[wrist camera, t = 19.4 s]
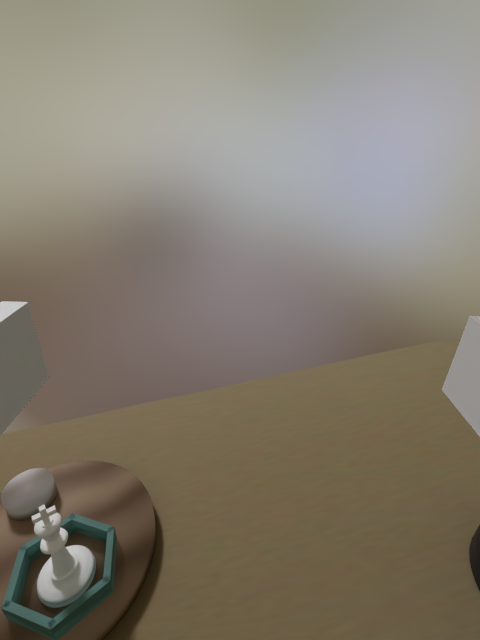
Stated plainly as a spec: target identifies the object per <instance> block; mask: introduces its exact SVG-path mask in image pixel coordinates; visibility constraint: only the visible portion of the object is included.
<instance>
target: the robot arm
mask: <svg viewBox="0 0 480 640" xmlns="http://www.w3.org/2000/svg"><path fill="white" fill-rule="evenodd" d="M48 379H49V374H48V371H47V367H46V364H45V360H44V357H43V353H42V349H41V346H40V342H39V339H38V335H37V332H36V328H35V325H34V321H33V318H32V314H31V311H30V308H29V303H28V302H6V301H5V302H4V301H3V302H1V303H0V435H1V434H2V433H3V432H4V431H5V429H6V428H7V427H8V426H9V425H10V423H11V422H12V421H13V420H14V419H15V418H16V416H17V415H18V414H19V413H20V412H21V410H22V409H23V408H24V407H25V406H26V405H27V403H28V402H29V401H30V400H31V399H32V397H33V396H34V395H35V394H36V393H37V392H38V390H39V389H40V388H41V387H42V385H43V384H44V383H45V382H46V381H47V380H48ZM442 391H443V392H444V393H445V394H446V395H447V397H448V398H449V399H450V400H451V402H452V403H453V404H454V405H455V407H456V408H457V409H458V410H459V412H460V413H461V414H462V415H463V417H464V418H465V419H466V420H467V422H468V423H469V424H470V425H471V427H472V428H473V429H474V430H475V432H476V433H477V434H478V435H479V436H480V316H470V317H469V319H468V322H467V325H466V328H465V330H464V333H463V335H462V338H461V340H460V343H459V346H458V348H457V351H456V354H455V356H454V359H453V362H452V364H451V367H450V370H449V372H448V375H447V378H446V380H445V383H444V385H443V388H442ZM469 552H470V564H471V568H472V572H473V575H474V578H475V581H476V584H477V586H478V588H479V590H480V525H479V527H478V529H477V530H476V532H475V534H474V536H473V538H472V540H471V544H470V551H469Z"/></svg>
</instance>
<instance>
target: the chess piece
mask: <svg viewBox="0 0 480 640" xmlns="http://www.w3.org/2000/svg"><path fill="white" fill-rule="evenodd" d="M38 508H39V513H37V514H35V515H33V516H31V517H32V522H33V524H35V526H34V532H35V534H36V535H37V536H38V537H40V538H42V540H41V544H40V549H41V551H42V552H43V553H44V554H51V557H50V558H49V559H48V561H47V562H46V563H45V564H44V566H43V568H42V569H41V571H40V574H39V576H38V580H37V592H38V597H39V599H40V601H41V602H42V603H43V604H44V605H46V606H48V607H52V608H58V607H63V606H66V605H68V604H70V603H72V602H74V601H75V600H77V599H78V598H79V597H80V596H81V595H82V594H83V593H84V592H85V591H86V590H87V589H88V587H89V586H90V584H91V582H92V580H93V578H94V575H95V571H96V561H95V557H94V555H93V554H92V552H91V551H90V550H89V549H88V548H87V547H85V546H82V545H72V546H68V547H65V546H64V545H65V544H66V542H67V540H68V533H67V531H66V530H65V529H63V528H60V526H61V521H62V519H61V515H60V514H59V513H57V511H56V507H55V505H54V506H52V507H50V508H48V509H46V507H45V504H44V505H42V506H40V507H38Z"/></svg>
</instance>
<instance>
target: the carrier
mask: <svg viewBox="0 0 480 640" xmlns="http://www.w3.org/2000/svg"><path fill="white" fill-rule="evenodd" d="M44 504H45V507H46V509H48V508H50V507H52V506H54V505H55V507H56V511H57V513H59V514H60V515H61V519H62V521H61V526H60V528H63V529H65V530H66V531H67V533H68V540H67V542H66V544H65V545H64V546H65V547H68V546H72V545H82V546H85V547H87V548H88V549H89V550H90V551H91V552H92V554H93V555H94V557H95V561H96V571H95V575H94V578H93V580H92V582H91V584H90V586H89V587H88V589H87V590H86V591H85V592H84V593H83V594H82V595H81V596H80V597H79V598H78V599H77V600H75V601H74V602H72V603H70V604H68V605H66V606H63V607H58V608H52V607H48V606H46V605H44V604H43V603H42V602H41V601H40V599H39V597H38V592H37V580H38V576H39V574H40V571H41V569H42V568H43V566H44V564H45V563H46V562H47V561H48V559H49V558H50V557H51V554H44V553H43V552H42V551H41V549H40V544H41V540H42V538H40V537H38V536H37V535H36V534H35V532H34V526H35V524H33V522H32V517H31V516H33V515H35V514H37V513H39V508H38V507H40V506H42V505H44ZM155 542H156V524H155V515H154V509H153V505H152V501H151V498H150V496H149V494H148V491H147V490H146V488H145V487H144V485H143V484H142V482H141V481H140V480H139V479H138V478H137V477H136V476H135V475H133V474H132V473H131V472H129V471H128V470H126V469H124V468H122V467H120V466H117V465H114V464H111V463H107V462H101V461H78V462H70V463H66V464H61V465H57V466H54V467H51V468H48V469H44V468H35V469H30V470H27V471H25V472H23V473H21V474H19V475H17V476H16V477H14V478H13V479H12V480H11V481H10V482H9V483H8V484H7V485H6V486H5V488H4V490H3V492H2V493H1V494H0V640H102V639H103V638H104V637H105V636H106V635H107V634H108V633H109V632H110V631H111V630H112V629H113V628H114V627H115V626H116V624H117V623H118V622H119V621H120V619H121V618H122V617H123V616H124V614H125V613H126V612H127V610H128V609H129V607H130V606H131V604H132V603H133V601H134V600H135V598H136V596H137V594H138V592H139V591H140V589H141V587H142V585H143V583H144V580H145V578H146V576H147V573H148V571H149V568H150V565H151V561H152V558H153V554H154V548H155Z"/></svg>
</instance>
